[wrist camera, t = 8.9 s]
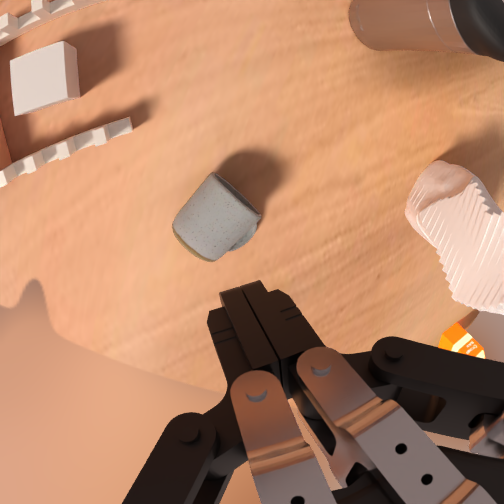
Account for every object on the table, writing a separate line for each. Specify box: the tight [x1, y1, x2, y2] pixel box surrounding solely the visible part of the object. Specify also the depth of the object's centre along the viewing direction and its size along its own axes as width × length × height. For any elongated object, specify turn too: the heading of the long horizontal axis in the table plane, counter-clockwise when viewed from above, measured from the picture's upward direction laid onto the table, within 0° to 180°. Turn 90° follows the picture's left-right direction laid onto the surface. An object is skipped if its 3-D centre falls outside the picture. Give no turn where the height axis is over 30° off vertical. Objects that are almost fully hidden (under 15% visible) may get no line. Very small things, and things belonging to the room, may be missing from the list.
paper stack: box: [405, 160, 504, 315], centre depth 42 cm, size 21×27×26 cm
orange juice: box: [438, 323, 485, 359], centre depth 77 cm, size 8×9×20 cm
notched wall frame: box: [0, 0, 133, 188], centre depth 21 cm, size 18×18×5 cm
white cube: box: [10, 41, 81, 116], centre depth 21 cm, size 6×6×6 cm
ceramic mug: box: [172, 173, 261, 262], centre depth 36 cm, size 11×8×8 cm
